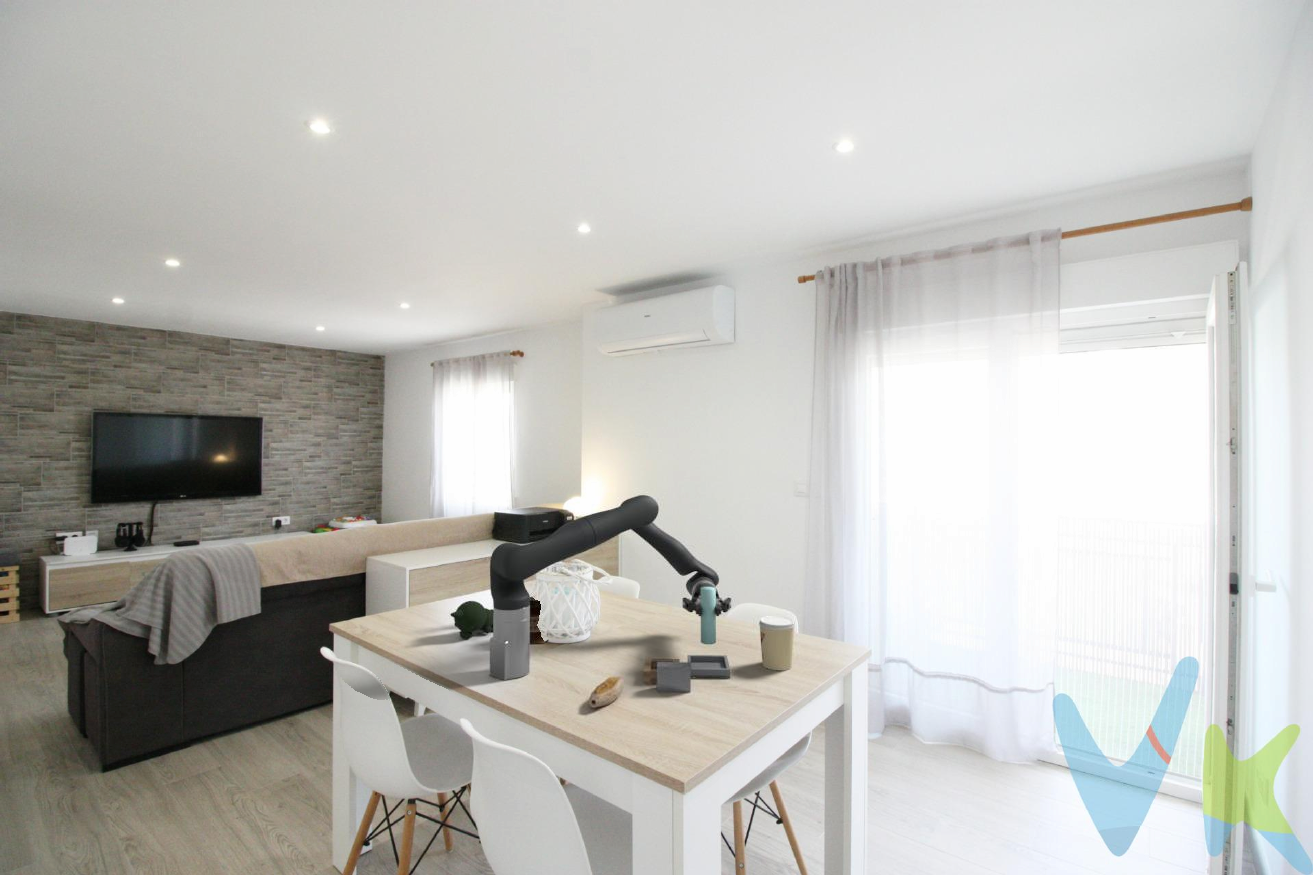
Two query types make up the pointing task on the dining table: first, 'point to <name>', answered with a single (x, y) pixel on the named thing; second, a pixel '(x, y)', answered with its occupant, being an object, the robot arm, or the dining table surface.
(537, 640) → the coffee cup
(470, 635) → the toy figurine
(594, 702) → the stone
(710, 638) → the dowel
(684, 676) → the gray rectangular block
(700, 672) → the tray
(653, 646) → the dining table surface
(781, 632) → the coffee cup
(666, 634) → the dining table surface
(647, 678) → the socket
